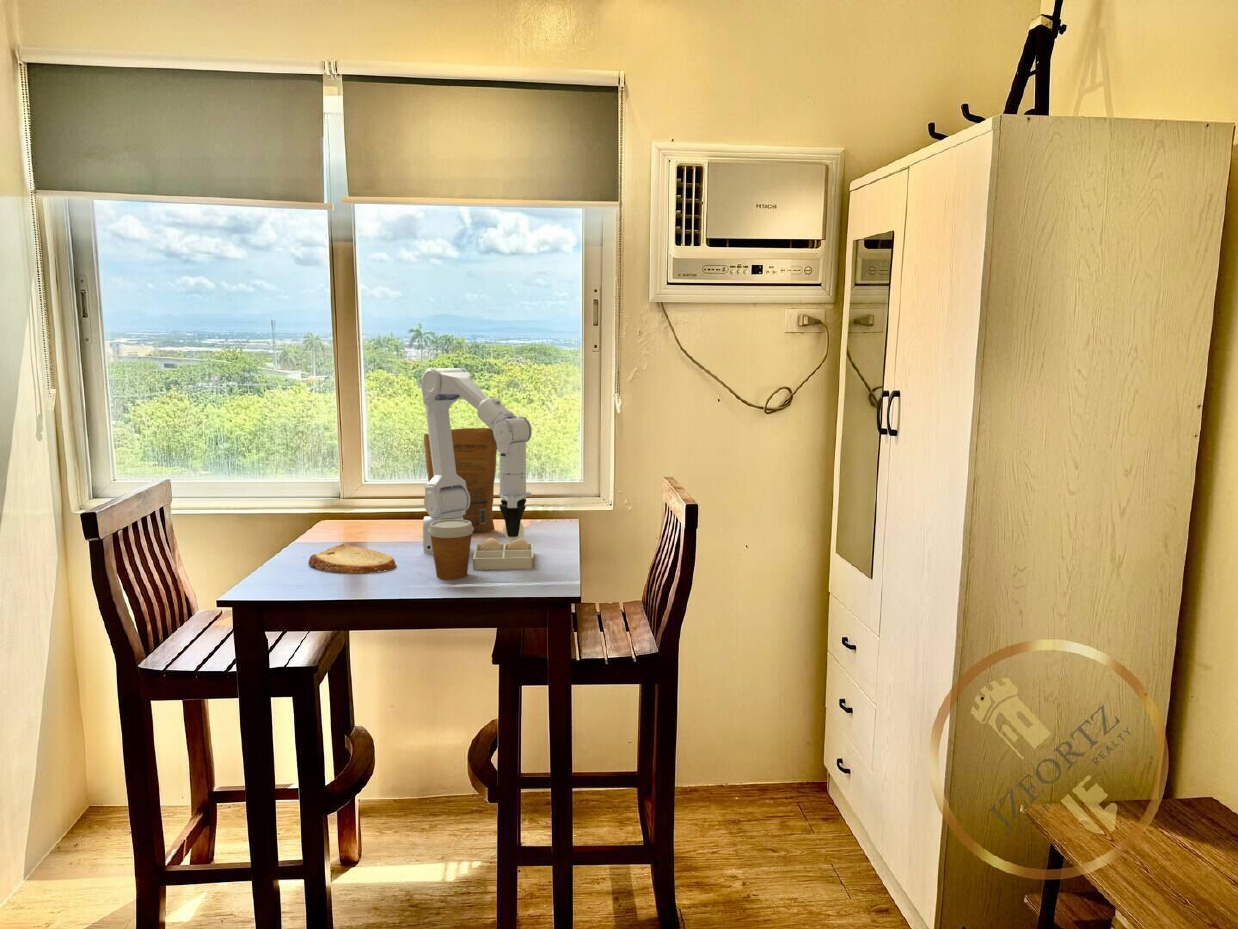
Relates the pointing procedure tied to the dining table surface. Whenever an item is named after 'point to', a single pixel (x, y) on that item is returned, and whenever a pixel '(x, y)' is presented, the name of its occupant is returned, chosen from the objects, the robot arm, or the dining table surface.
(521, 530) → the white egg
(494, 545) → the brown egg left
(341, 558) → the slice of bread
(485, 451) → the pancake mix bag
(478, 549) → the egg carton
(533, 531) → the dining table surface
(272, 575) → the dining table surface
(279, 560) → the dining table surface
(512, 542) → the brown egg right
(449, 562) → the disposable coffee cup
